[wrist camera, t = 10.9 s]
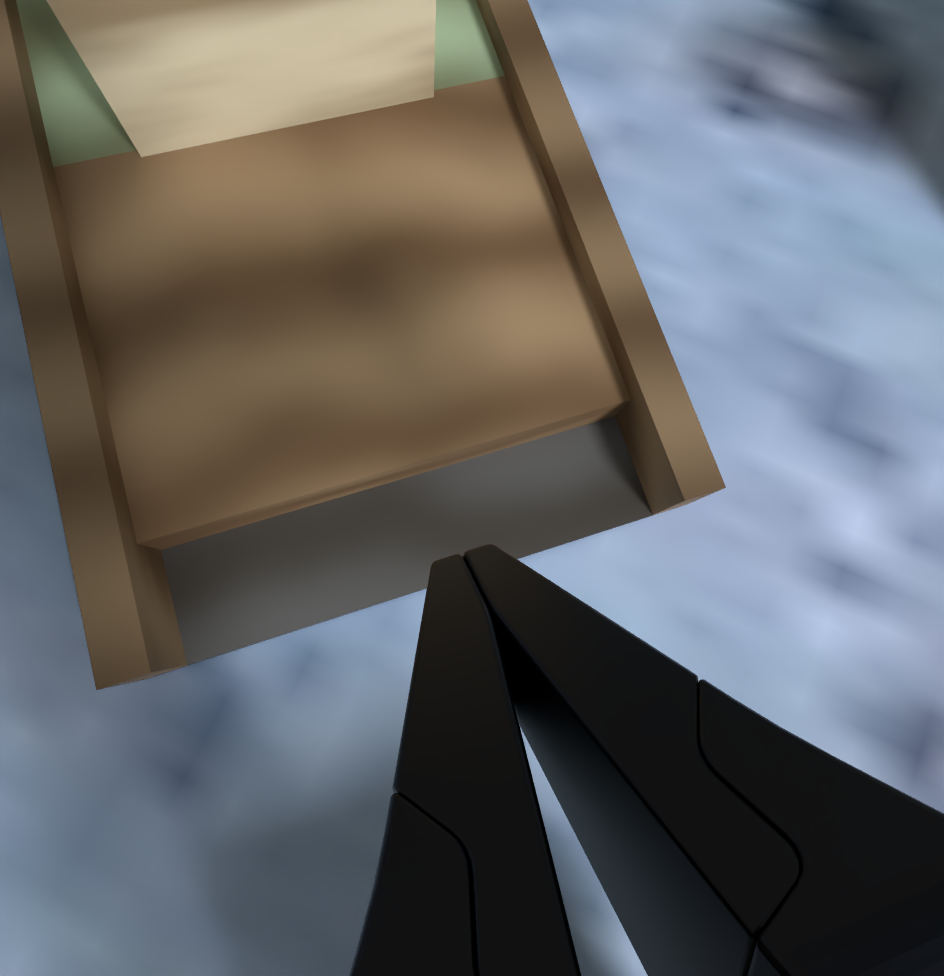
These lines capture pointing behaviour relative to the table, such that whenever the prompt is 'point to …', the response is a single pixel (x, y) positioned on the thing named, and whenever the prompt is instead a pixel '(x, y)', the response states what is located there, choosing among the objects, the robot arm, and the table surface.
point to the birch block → (248, 62)
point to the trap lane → (327, 344)
